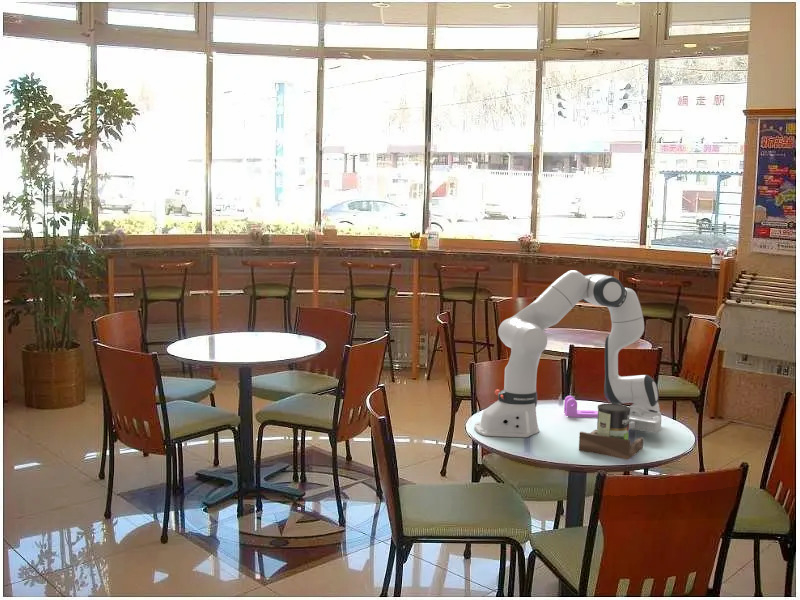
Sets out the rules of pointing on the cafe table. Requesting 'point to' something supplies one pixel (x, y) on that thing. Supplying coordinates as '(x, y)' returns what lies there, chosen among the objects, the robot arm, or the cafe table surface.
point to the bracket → (571, 409)
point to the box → (609, 445)
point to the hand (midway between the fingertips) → (623, 426)
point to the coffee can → (613, 420)
